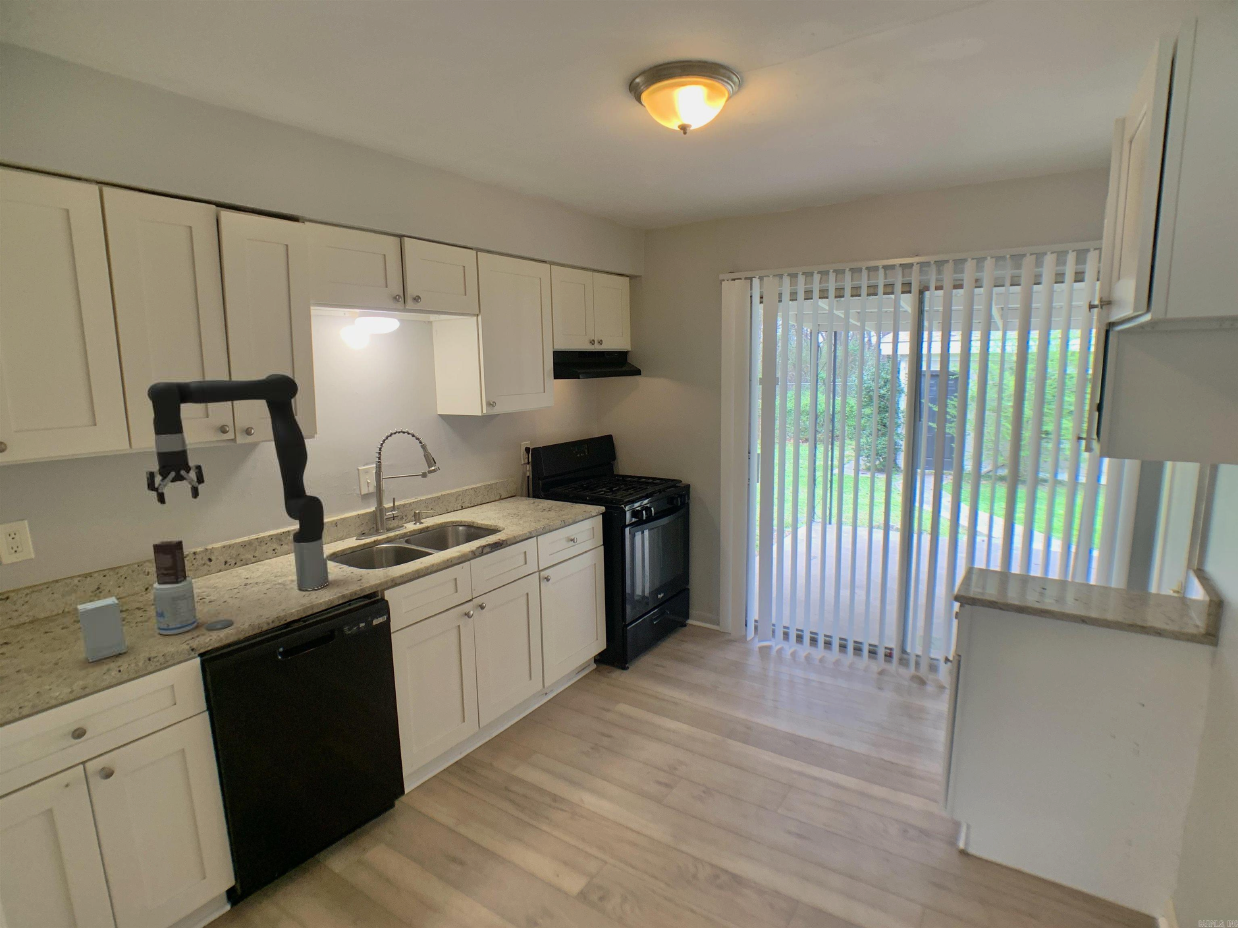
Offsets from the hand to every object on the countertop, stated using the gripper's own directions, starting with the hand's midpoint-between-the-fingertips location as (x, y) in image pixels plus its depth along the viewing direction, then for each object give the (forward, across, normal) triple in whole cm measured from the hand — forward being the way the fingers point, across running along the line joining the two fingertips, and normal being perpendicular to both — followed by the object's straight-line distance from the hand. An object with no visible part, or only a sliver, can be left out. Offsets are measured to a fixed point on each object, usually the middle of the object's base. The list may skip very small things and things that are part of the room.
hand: (179, 501), depth 186 cm
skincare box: (+36, +26, +11) cm, 46 cm away
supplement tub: (+37, +8, +8) cm, 39 cm away
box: (+22, +8, +8) cm, 25 cm away
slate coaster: (+37, 0, +16) cm, 40 cm away
